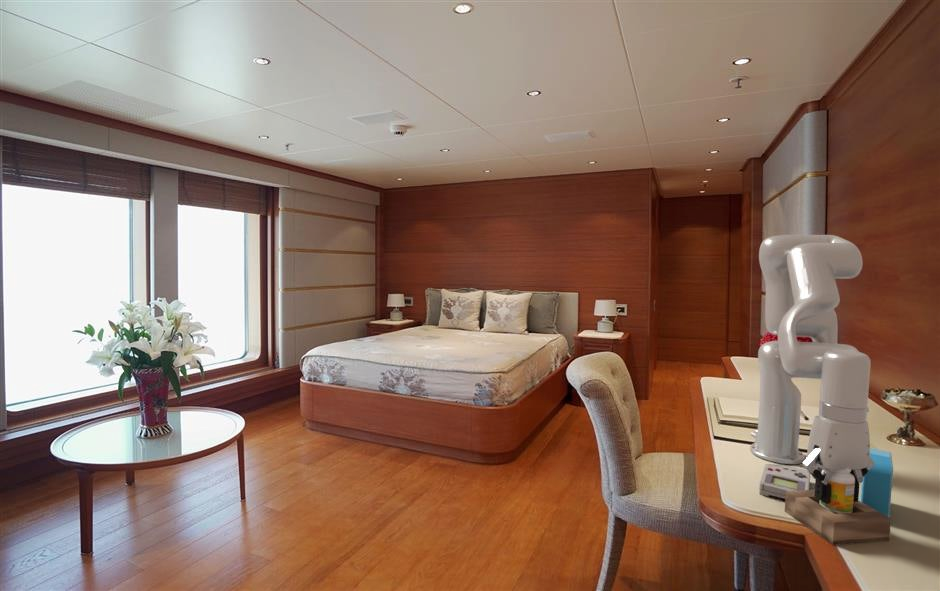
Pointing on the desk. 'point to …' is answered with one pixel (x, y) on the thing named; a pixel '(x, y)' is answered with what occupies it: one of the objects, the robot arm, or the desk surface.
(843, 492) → the supplement bottle
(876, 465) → the data package
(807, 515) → the walnut pocket block
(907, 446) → the desk surface
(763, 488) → the handheld gaming console
